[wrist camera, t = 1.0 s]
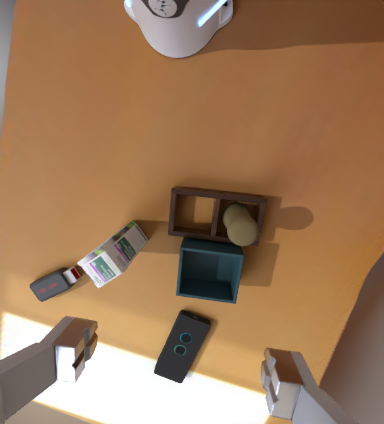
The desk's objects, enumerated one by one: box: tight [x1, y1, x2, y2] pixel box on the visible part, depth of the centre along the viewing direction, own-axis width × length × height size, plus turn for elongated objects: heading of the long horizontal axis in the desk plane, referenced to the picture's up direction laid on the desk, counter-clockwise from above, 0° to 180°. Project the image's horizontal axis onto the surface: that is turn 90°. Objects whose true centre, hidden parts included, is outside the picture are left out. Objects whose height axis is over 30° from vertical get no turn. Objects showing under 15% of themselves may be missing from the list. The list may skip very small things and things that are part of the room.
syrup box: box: [77, 220, 148, 288], centre depth 40 cm, size 6×6×14 cm
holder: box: [168, 187, 267, 246], centre depth 43 cm, size 10×19×3 cm, turn 84°
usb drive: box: [30, 266, 81, 302], centre depth 50 cm, size 5×12×3 cm, turn 117°
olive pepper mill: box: [221, 203, 259, 246], centre depth 39 cm, size 6×6×11 cm
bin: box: [176, 237, 244, 304], centre depth 44 cm, size 11×12×7 cm
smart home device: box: [154, 310, 210, 383], centre depth 53 cm, size 8×2×20 cm
